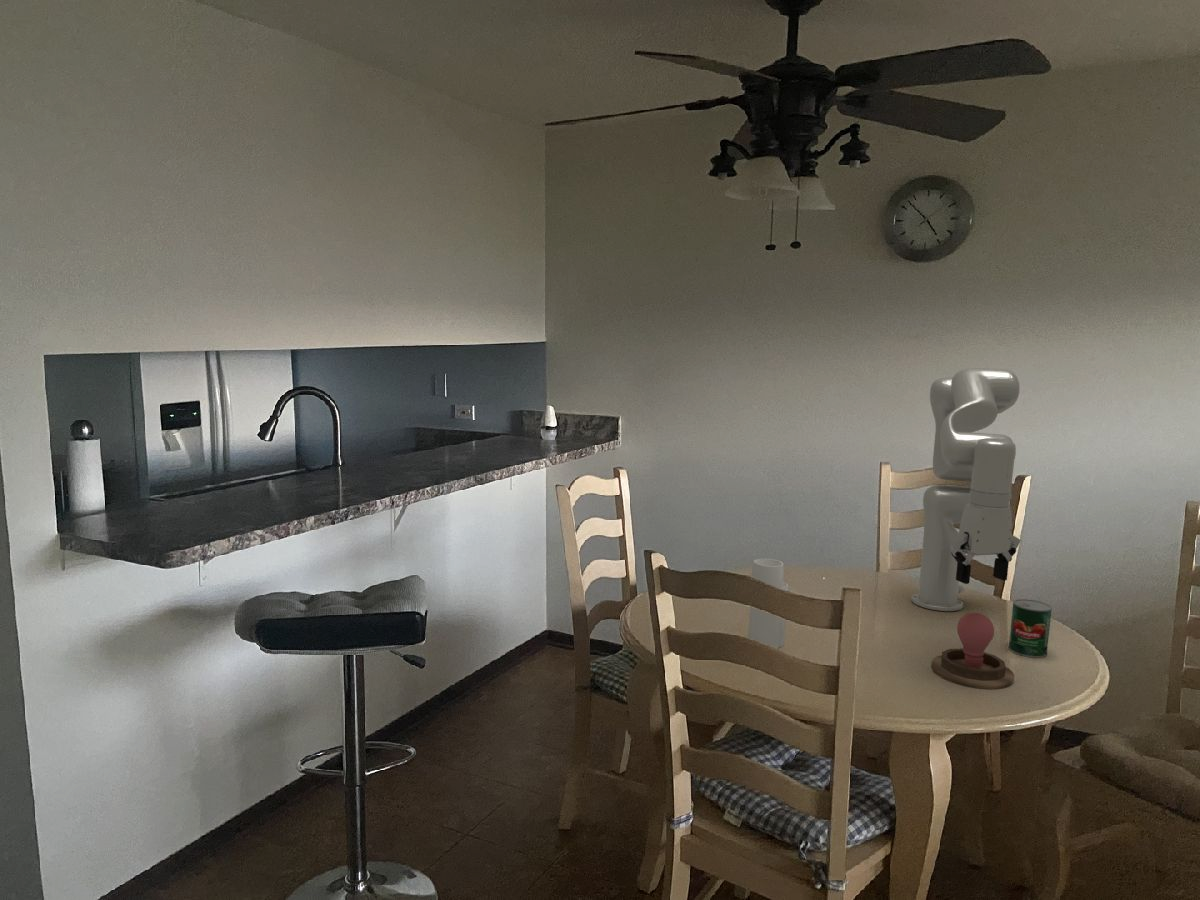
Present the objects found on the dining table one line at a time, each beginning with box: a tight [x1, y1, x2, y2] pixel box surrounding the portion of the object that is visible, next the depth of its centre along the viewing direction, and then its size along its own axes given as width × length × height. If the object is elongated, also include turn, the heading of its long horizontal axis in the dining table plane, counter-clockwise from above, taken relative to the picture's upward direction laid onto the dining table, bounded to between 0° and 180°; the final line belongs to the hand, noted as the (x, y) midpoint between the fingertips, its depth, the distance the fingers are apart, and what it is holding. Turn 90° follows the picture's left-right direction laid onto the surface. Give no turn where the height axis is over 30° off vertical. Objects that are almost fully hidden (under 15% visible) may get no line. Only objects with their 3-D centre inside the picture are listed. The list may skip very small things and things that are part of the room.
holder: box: [930, 647, 1015, 690], centre depth 183 cm, size 16×16×3 cm
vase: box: [747, 558, 789, 650], centre depth 193 cm, size 11×7×20 cm, turn 155°
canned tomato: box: [1008, 598, 1053, 659], centre depth 196 cm, size 8×8×11 cm
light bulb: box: [956, 612, 995, 668], centre depth 183 cm, size 7×7×12 cm
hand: (981, 580), depth 181 cm, fingers open, 9 cm apart
